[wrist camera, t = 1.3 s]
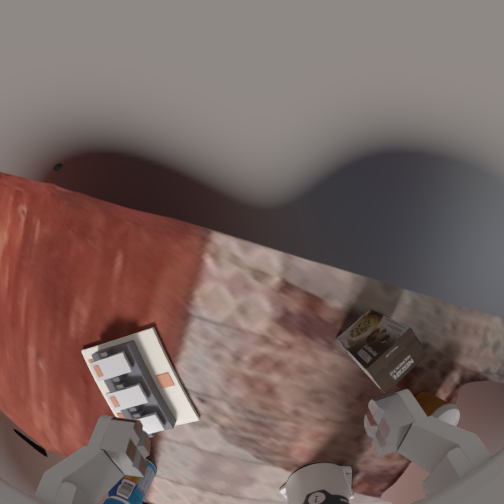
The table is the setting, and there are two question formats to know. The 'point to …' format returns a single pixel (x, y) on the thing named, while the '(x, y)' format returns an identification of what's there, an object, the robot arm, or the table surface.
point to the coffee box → (382, 348)
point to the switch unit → (146, 378)
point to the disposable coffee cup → (438, 408)
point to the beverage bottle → (132, 487)
